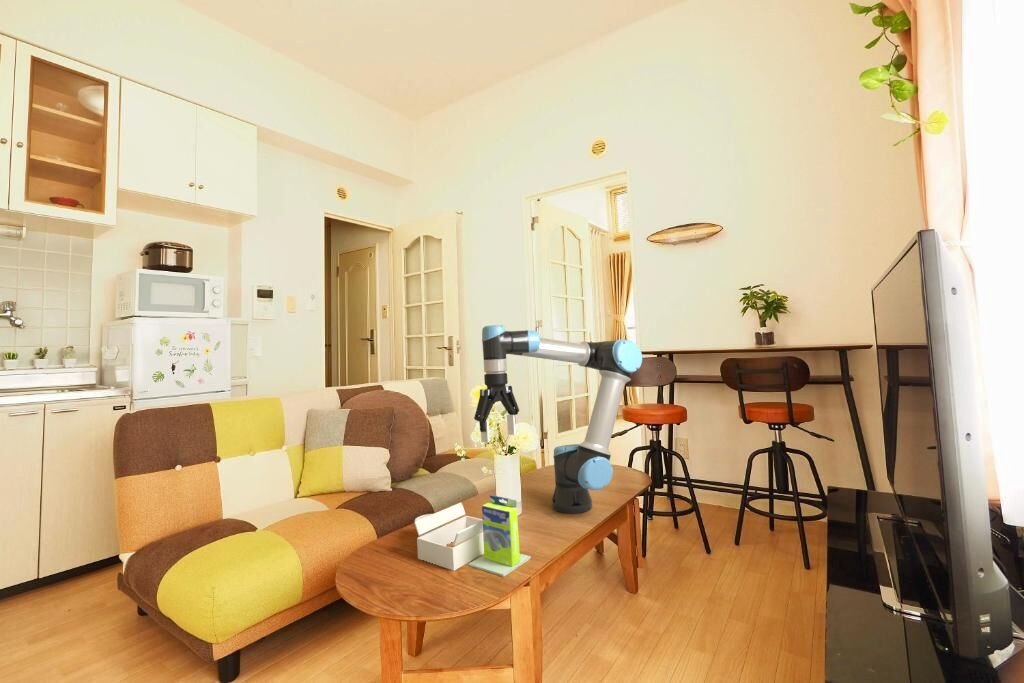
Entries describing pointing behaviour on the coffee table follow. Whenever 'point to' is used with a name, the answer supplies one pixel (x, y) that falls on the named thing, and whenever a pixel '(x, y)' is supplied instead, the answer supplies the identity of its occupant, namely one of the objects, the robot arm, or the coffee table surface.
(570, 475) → the robot arm
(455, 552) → the white open carton
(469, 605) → the coffee table surface
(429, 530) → the candle
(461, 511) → the flap far
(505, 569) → the mat
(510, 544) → the box
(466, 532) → the flap near
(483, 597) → the coffee table surface
